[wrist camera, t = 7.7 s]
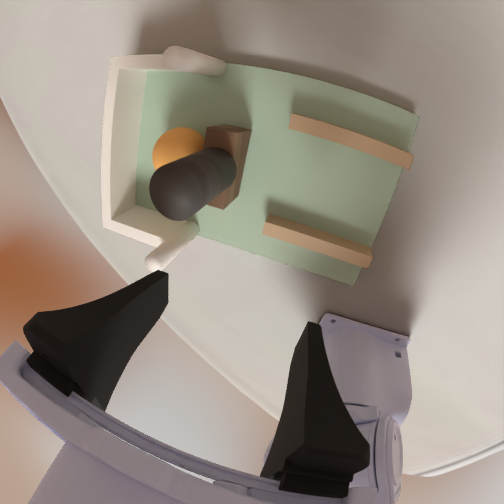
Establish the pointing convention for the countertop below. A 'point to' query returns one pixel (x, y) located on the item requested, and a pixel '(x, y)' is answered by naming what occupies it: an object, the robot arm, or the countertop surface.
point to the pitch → (256, 160)
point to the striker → (202, 175)
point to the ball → (176, 145)
